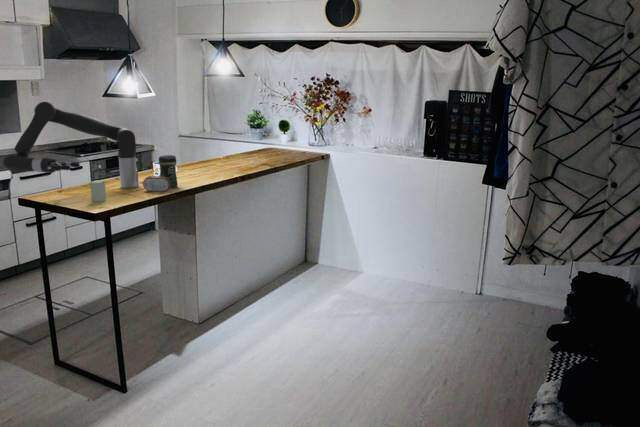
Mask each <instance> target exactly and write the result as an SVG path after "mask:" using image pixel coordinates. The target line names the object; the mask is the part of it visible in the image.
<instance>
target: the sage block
mask: <svg viewBox="0 0 640 427" xmlns="http://www.w3.org/2000/svg"><path fill="white" fill-rule="evenodd" d="M105 181H106V180H97V179H96V180H93V181H91V182H89V184H90V194H91V195H90V196H91V197H90V198H91V202H92V203H103V202H105V201H107V194H106V182H105Z"/></svg>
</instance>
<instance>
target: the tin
mask: <svg viewBox="0 0 640 427" xmlns="http://www.w3.org/2000/svg"><path fill="white" fill-rule="evenodd" d="M142 186H143V188H144V189H145V190H146V191H147V192H155V193H157V192H159V193H160V192H161V193H163V192H164V193H165V192H167V191H169V190H170V189H171V188H170V187H171V182H170V180H169V179H168V178H167V177H160V175H159V176H158V175H157V176H154V175H151V176H150V175H149V176H147V177H146V178H144V180H143V182H142Z"/></svg>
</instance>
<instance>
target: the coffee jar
mask: <svg viewBox="0 0 640 427" xmlns="http://www.w3.org/2000/svg"><path fill="white" fill-rule="evenodd" d="M158 165H159V168H160V169H159V170H160V171H159V172H160V173H159V174H160V175H159V176H160V177H167V178H168V179H169V180H170V182H171V187H170V189H174V188H177V187H178V179H177V171H176V170H177V169H176V166H177V157H176V155H173V154H166V155H160V156H159V157H158Z"/></svg>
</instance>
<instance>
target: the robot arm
mask: <svg viewBox="0 0 640 427" xmlns="http://www.w3.org/2000/svg"><path fill="white" fill-rule="evenodd" d="M33 112H34V114H33V117H32V119H31V121H30V123H29V124H28V126H27V128H26V129H25V130H24V132H23V133H22V134H21V136H20V137H19V139H18V141H17V143H16V144H15V146H14V151H15V152H16V155H14V154H11V155H10V154H9V155H7V156H5V157H4V158H3V160H2V164H3V166H4V167H5V168H7V169H8V170H10V171H11V172H14V173H21V172H22V171H26V172H37V173H44V174H45V173H47V174H48V173H50V174H54V173H55V172H59V171H70V170H71V168H80V167H81V166H80V162H74V161H72V160H71V161H69V160H67V161H66V160H62V161H61V160H59V161H57V160H56V159H55V158H53V157H29V154H30V153H31V151H32V149H33V148H34V146H35V144H36V143H37V140H38V138H39V137H40V135H41V133H42V131H43V130H44V128H45V127H46V125H47V124H48V122H51V123H55V124H58V125H61V126H65V127H67V128H70V129H72V130H74V131H78V132H81V133H84V134H88V135H91V136H97V137H104V138H107V139H109V140H112V141H115V142H118V144H117V145H118V153H117V155H118V166H119V177H120V178H119V179H120V188H123V189H130V188H137V187H139V186H140V185H139V184H140V183H139V182H140V181H139V171H138V169H137V160H136V159H137V158H136V153H137V146H136V135H135V133H134V132H133V131H132V130H130V129H128V128H125V127H121V126H120V127H119V126H114V125H111V124H108V123H106V122H105V121H102V120H100V119H97V118H94V117H91V116H89V115H85V114H82V113H76V112H70V111H65V110H62V109H60V108H56V107H55V106H54V105H53V104H52V103H51V102H48V101H41V102H39V103H37V104H36V105H35V106H34V111H33Z"/></svg>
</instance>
